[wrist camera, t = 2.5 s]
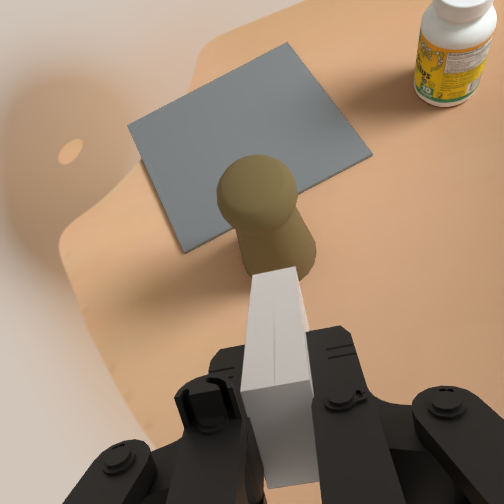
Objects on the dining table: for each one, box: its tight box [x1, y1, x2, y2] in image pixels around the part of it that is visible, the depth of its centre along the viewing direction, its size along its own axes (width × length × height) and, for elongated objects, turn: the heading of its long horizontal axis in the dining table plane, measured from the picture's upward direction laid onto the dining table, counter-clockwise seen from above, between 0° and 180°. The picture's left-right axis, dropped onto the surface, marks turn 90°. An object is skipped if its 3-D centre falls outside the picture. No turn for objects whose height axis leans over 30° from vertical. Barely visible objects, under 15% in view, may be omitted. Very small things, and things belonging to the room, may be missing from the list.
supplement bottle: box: [414, 0, 497, 107], centre depth 38 cm, size 5×5×10 cm
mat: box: [127, 42, 373, 254], centre depth 44 cm, size 18×16×1 cm
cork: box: [216, 154, 316, 281], centre depth 34 cm, size 6×6×11 cm
